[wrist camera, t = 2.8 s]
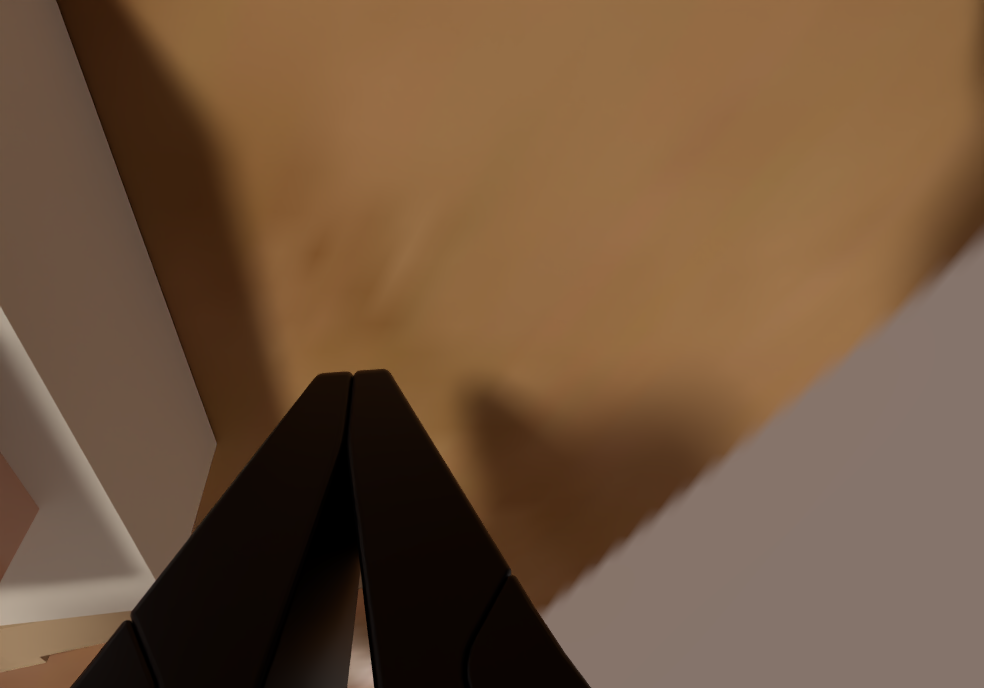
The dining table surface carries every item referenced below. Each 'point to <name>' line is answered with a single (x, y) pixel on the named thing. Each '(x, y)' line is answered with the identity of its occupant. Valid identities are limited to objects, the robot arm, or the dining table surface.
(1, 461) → the tile
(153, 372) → the white flat box
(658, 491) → the dining table surface
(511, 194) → the dining table surface
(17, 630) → the wooden spatula
